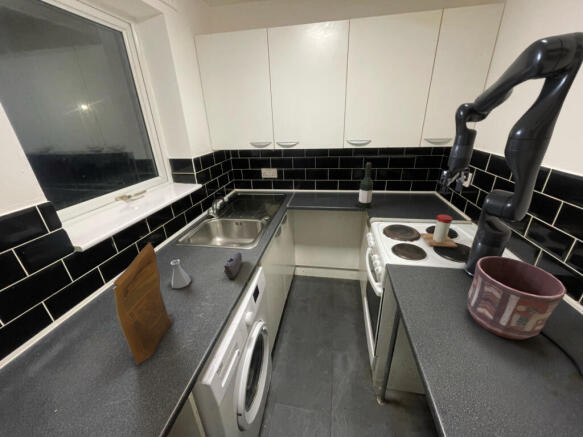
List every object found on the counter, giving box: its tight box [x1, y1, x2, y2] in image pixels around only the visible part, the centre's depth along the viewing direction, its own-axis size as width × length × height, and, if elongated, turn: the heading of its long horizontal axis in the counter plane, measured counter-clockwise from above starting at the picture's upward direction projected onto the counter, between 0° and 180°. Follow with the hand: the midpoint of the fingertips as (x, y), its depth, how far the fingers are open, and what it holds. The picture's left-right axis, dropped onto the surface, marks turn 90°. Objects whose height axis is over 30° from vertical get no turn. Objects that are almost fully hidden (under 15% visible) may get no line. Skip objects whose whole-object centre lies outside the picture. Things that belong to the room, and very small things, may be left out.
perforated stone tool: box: [223, 251, 243, 279], centre depth 96 cm, size 15×5×7 cm, turn 172°
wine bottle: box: [357, 162, 374, 210], centre depth 153 cm, size 8×8×30 cm
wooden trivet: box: [420, 232, 459, 249], centre depth 113 cm, size 12×12×1 cm
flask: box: [170, 259, 192, 289], centre depth 89 cm, size 7×7×10 cm
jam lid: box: [436, 214, 453, 224], centre depth 108 cm, size 6×6×2 cm
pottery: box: [466, 256, 567, 341], centre depth 65 cm, size 18×18×18 cm
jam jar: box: [433, 219, 452, 242], centre depth 111 cm, size 6×6×12 cm
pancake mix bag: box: [111, 242, 172, 366], centre depth 63 cm, size 7×19×28 cm, turn 179°
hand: (450, 192), depth 103 cm, fingers open, 8 cm apart
